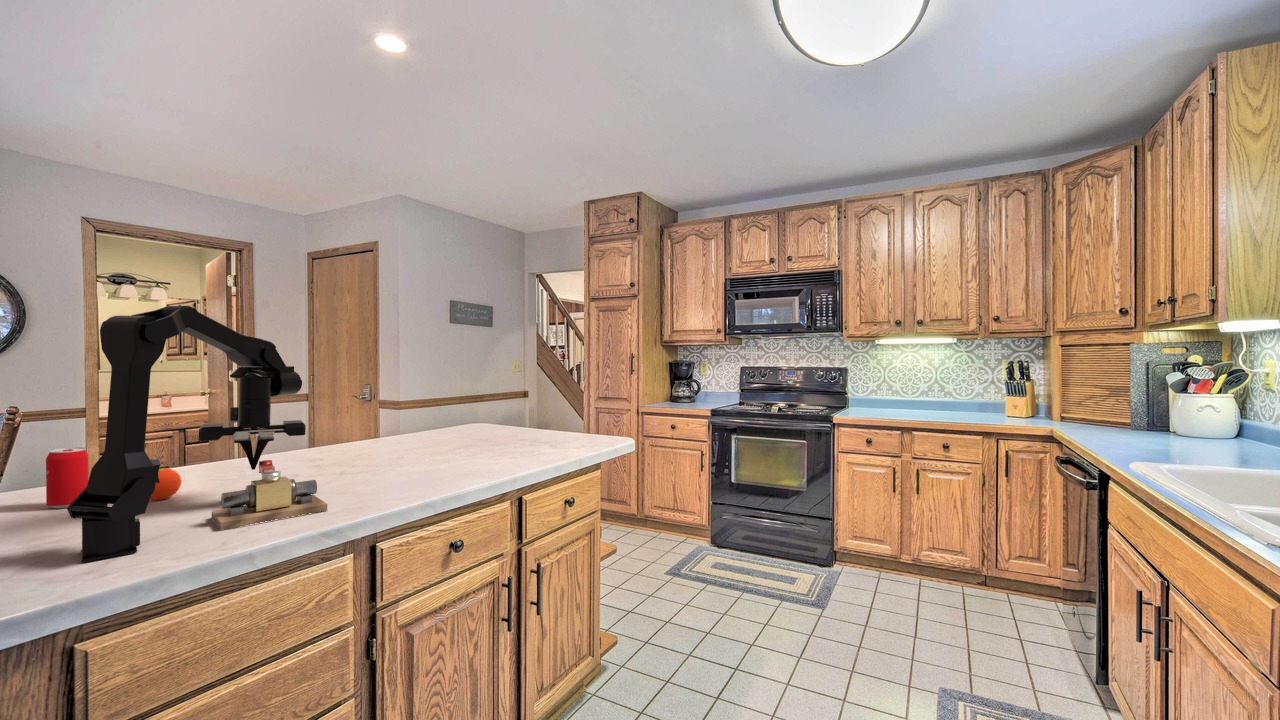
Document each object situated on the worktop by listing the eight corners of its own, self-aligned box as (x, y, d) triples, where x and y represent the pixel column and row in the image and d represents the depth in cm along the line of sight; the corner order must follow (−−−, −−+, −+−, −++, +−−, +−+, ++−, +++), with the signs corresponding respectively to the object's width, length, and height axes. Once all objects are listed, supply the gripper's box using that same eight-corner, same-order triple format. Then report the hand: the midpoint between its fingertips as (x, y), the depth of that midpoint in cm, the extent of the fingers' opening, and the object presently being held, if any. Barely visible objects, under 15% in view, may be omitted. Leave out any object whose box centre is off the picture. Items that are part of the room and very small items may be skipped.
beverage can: (83, 499, 119) (83, 445, 119) (93, 504, 116) (92, 448, 116) (42, 506, 114) (41, 450, 114) (50, 511, 111) (50, 453, 111)
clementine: (158, 505, 116) (158, 472, 116) (126, 504, 116) (126, 471, 116) (189, 495, 124) (189, 464, 124) (159, 494, 124) (159, 464, 124)
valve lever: (281, 482, 111) (281, 470, 111) (262, 484, 109) (262, 472, 109) (273, 470, 121) (273, 459, 121) (256, 471, 119) (256, 461, 119)
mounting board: (220, 530, 101) (221, 522, 101) (211, 518, 108) (211, 511, 108) (327, 511, 114) (327, 504, 114) (313, 501, 121) (313, 494, 121)
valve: (225, 518, 104) (225, 490, 103) (220, 512, 107) (220, 485, 107) (318, 502, 115) (318, 476, 115) (311, 497, 119) (311, 472, 119)
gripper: (301, 394, 130) (299, 458, 130) (201, 395, 119) (200, 466, 119) (306, 398, 121) (304, 467, 121) (199, 400, 110) (197, 477, 110)
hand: (253, 469), depth 118 cm, fingers closed
